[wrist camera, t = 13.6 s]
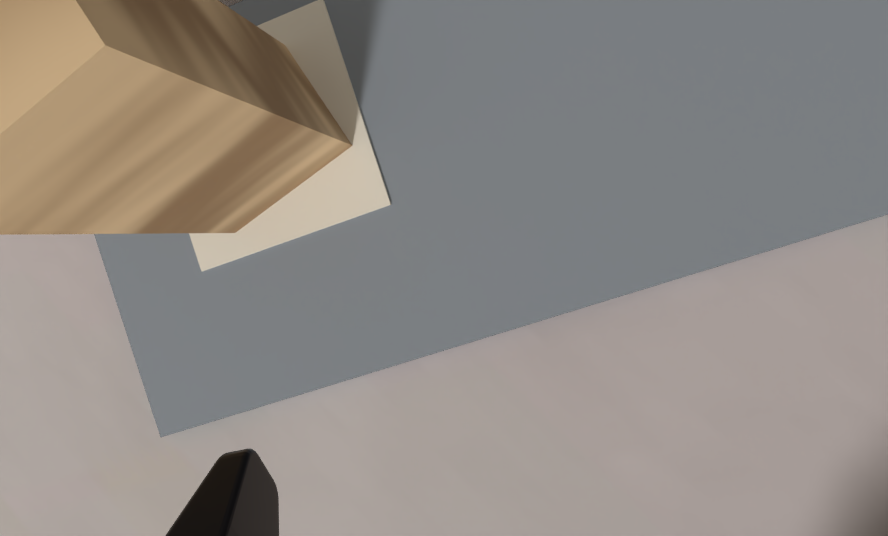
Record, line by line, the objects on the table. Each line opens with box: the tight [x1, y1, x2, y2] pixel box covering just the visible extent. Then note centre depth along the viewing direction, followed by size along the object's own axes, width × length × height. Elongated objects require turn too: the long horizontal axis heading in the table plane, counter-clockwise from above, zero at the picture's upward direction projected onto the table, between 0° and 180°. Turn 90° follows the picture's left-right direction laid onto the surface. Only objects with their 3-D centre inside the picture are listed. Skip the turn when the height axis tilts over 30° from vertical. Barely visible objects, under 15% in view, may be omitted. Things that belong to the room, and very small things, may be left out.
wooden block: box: [0, 0, 352, 234], centre depth 17 cm, size 4×5×12 cm
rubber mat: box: [94, 0, 888, 437], centre depth 22 cm, size 26×13×1 cm, turn 109°
